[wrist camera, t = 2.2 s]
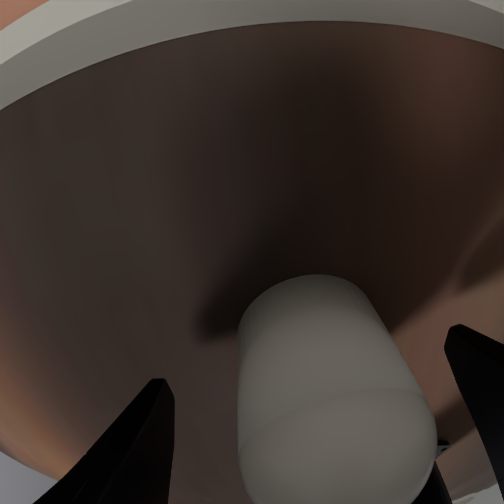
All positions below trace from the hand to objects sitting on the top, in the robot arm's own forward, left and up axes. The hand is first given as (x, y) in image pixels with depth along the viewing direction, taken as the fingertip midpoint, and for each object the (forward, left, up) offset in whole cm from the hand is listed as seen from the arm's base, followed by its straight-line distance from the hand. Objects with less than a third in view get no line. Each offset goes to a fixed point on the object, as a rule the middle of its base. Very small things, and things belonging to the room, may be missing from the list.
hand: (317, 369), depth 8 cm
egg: (0, 0, -2) cm, 2 cm away
